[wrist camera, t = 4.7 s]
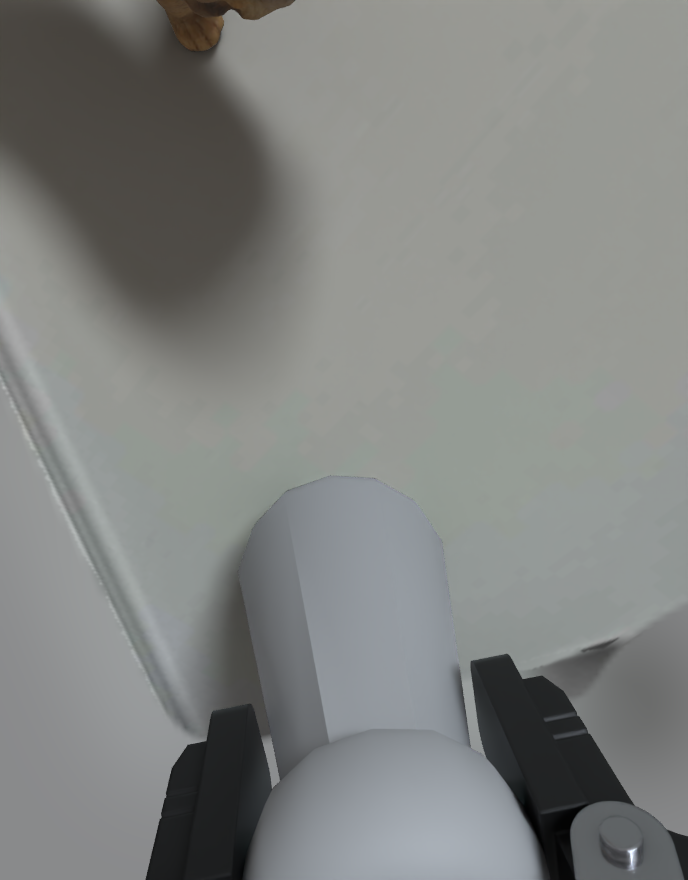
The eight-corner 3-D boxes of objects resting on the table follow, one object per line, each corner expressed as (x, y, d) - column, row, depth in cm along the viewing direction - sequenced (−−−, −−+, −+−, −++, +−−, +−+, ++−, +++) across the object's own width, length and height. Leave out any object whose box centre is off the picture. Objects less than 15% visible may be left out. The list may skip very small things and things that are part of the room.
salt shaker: (285, 642, 21) (273, 1197, 9) (216, 492, 20) (79, 912, 7) (451, 582, 21) (680, 1060, 9) (395, 425, 19) (578, 734, 7)
